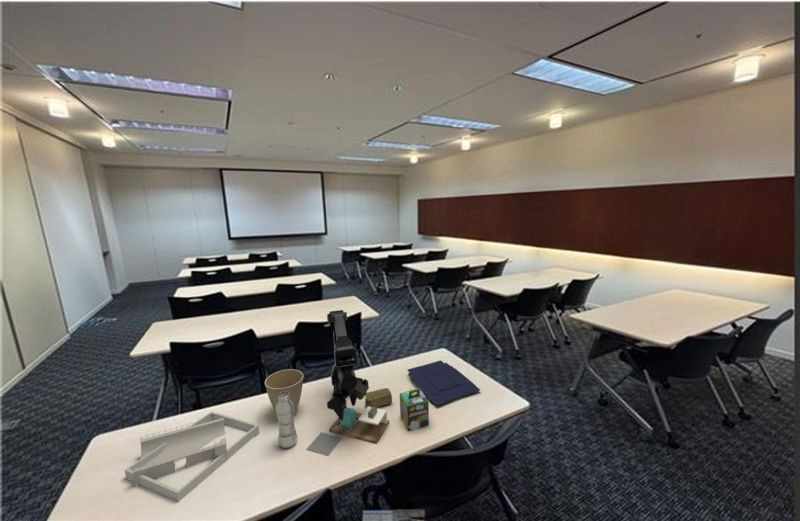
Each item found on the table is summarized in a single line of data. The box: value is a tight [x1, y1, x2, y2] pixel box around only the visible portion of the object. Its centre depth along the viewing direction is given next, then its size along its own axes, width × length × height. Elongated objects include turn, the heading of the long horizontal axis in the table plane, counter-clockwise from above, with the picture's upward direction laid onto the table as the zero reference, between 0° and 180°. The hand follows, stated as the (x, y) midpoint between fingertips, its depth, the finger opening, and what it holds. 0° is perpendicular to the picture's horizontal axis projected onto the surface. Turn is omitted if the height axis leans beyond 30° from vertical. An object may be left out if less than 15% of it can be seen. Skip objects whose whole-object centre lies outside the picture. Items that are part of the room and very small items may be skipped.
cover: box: [358, 406, 388, 425], centre depth 119 cm, size 8×8×7 cm
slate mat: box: [306, 431, 342, 457], centre depth 114 cm, size 9×9×1 cm
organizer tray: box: [124, 410, 260, 502], centre depth 110 cm, size 25×31×4 cm
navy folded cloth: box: [406, 359, 481, 406], centre depth 151 cm, size 24×30×4 cm
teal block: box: [339, 406, 357, 429], centre depth 124 cm, size 4×4×6 cm
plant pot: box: [264, 368, 304, 416], centre depth 131 cm, size 15×15×16 cm
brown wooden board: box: [328, 412, 390, 445], centre depth 122 cm, size 20×12×2 cm, turn 69°
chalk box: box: [399, 387, 430, 432], centre depth 124 cm, size 9×9×15 cm
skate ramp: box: [133, 414, 228, 487], centre depth 107 cm, size 25×19×10 cm
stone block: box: [364, 387, 393, 408], centre depth 136 cm, size 6×12×5 cm, turn 107°
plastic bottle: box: [275, 391, 298, 449], centre depth 113 cm, size 6×7×20 cm
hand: (347, 412), depth 123 cm, fingers open, 9 cm apart
